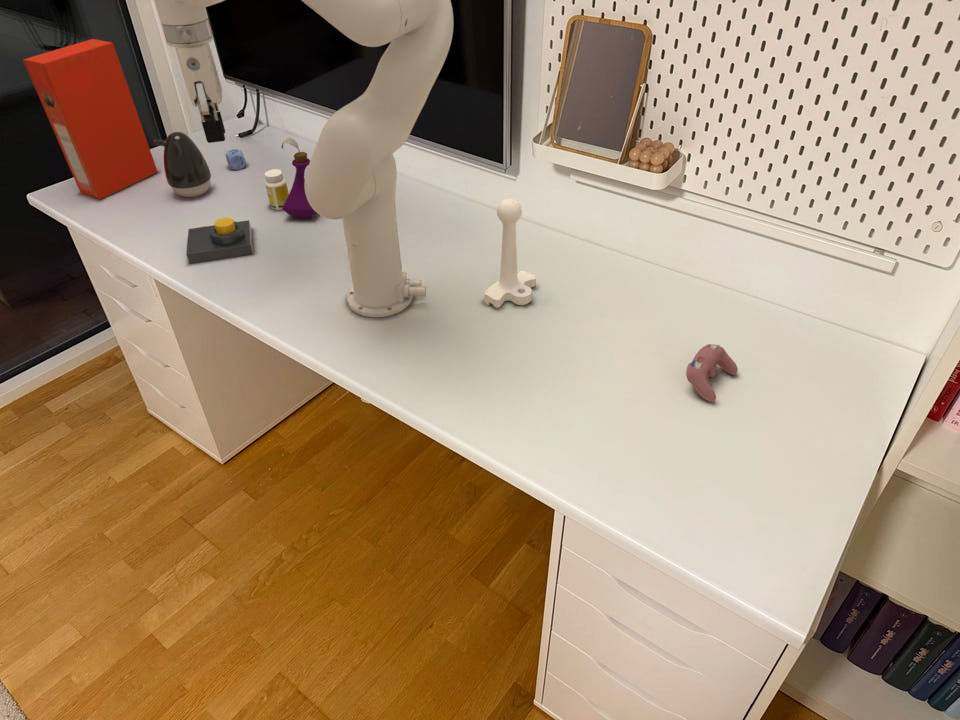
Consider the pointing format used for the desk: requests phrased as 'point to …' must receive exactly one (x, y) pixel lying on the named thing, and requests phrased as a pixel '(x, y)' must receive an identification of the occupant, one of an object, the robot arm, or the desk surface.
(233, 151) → the decorative dice
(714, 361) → the video game controller
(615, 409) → the desk surface
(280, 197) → the supplement bottle
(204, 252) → the console
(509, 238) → the joystick
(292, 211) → the perfume bottle
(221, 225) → the button
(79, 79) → the file binder
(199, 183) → the pump dispenser
